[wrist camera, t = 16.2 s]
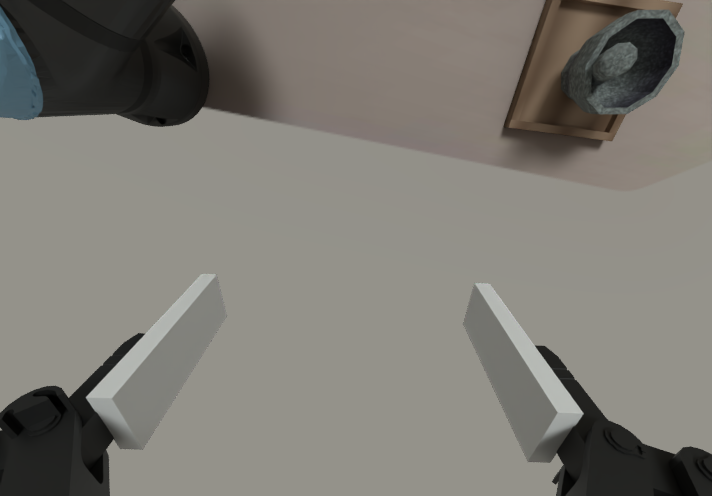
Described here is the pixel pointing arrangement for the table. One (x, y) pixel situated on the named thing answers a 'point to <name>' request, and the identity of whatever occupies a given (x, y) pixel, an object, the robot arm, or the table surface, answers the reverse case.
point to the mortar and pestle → (624, 63)
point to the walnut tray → (548, 58)
